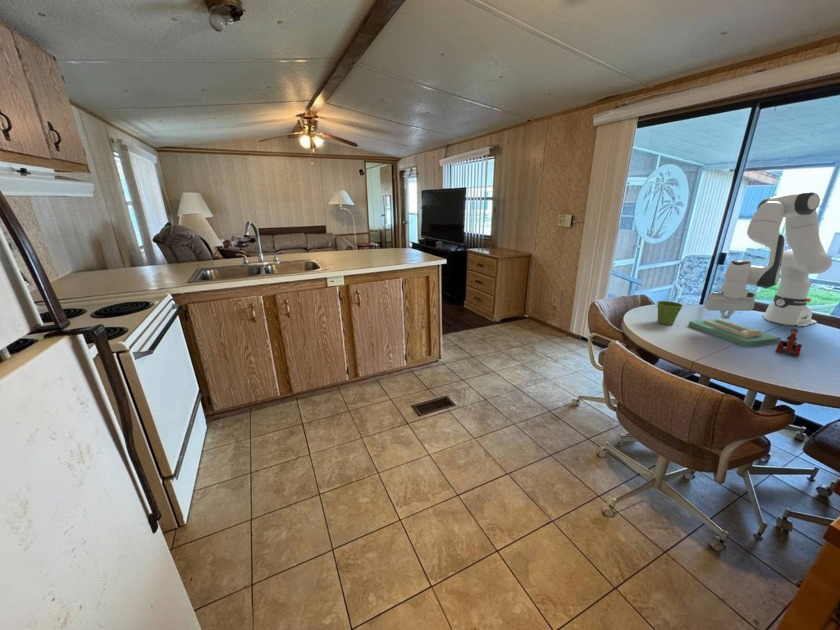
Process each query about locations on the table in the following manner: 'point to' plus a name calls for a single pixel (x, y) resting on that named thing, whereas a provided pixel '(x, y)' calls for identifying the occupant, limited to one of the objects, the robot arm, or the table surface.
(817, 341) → the table surface
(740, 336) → the putting mat
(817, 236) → the robot arm
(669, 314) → the plant pot
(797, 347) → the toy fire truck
